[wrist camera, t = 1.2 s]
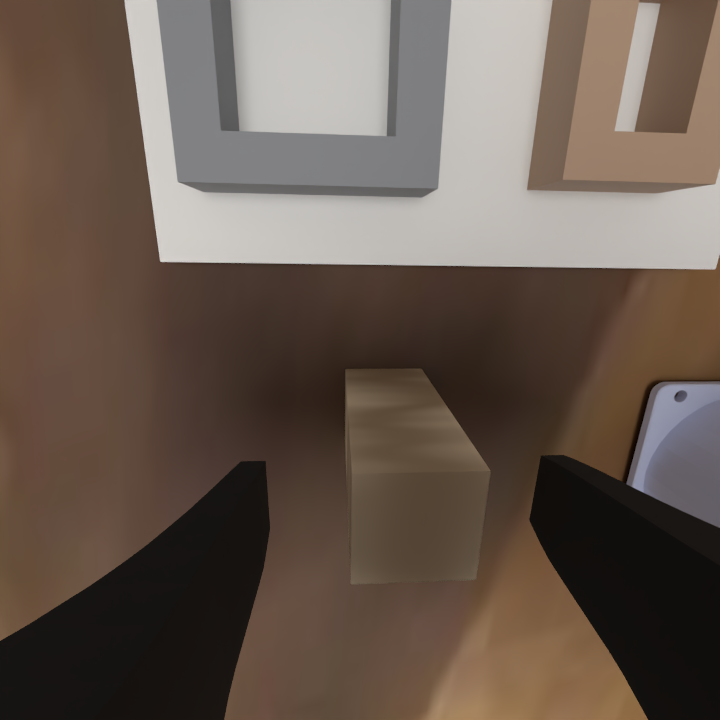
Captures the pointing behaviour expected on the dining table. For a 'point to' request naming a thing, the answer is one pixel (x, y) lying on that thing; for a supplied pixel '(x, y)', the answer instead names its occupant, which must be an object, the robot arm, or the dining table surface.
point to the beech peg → (409, 482)
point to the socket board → (432, 131)
